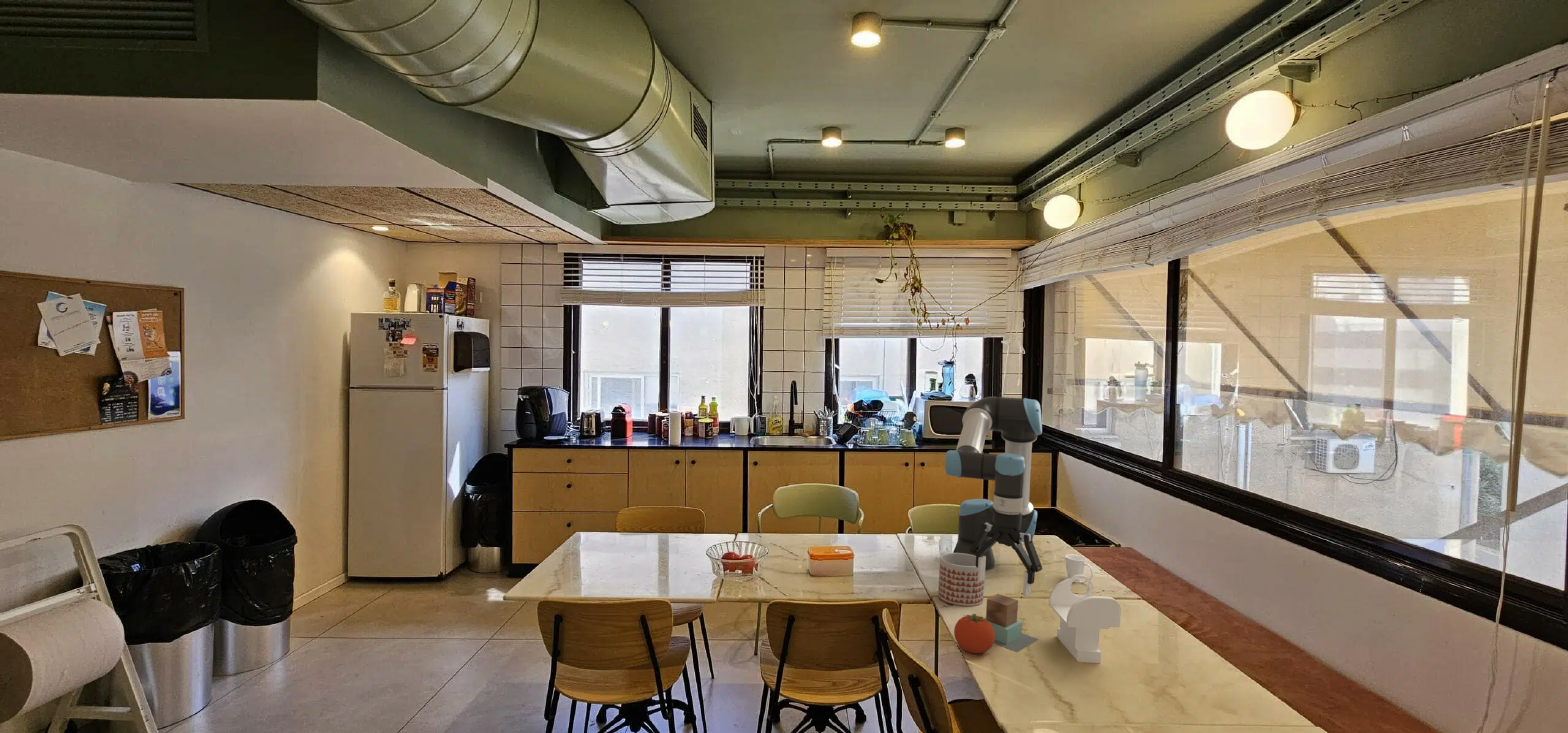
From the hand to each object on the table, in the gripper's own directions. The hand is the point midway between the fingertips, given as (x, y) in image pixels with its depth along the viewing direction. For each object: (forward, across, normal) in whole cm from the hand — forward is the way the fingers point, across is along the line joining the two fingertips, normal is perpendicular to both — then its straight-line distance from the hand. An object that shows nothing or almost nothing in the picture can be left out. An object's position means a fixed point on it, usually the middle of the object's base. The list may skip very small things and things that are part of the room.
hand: (1003, 587), depth 185 cm
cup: (+15, -5, +62) cm, 63 cm away
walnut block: (+9, 0, 0) cm, 9 cm away
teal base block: (+13, 0, 0) cm, 13 cm away
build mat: (+14, 0, 0) cm, 14 cm away
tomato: (+14, 0, -14) cm, 20 cm away
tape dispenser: (+14, +18, +9) cm, 25 cm away
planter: (+14, -22, +14) cm, 30 cm away
